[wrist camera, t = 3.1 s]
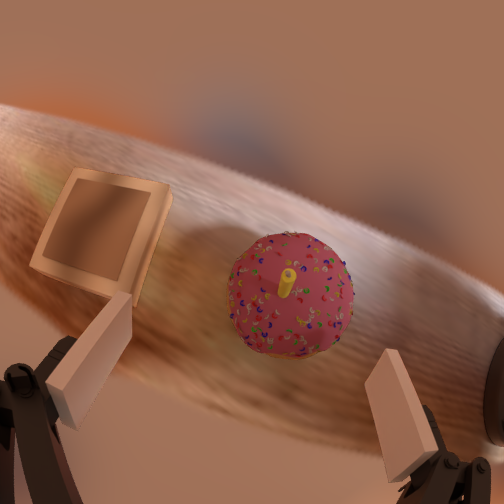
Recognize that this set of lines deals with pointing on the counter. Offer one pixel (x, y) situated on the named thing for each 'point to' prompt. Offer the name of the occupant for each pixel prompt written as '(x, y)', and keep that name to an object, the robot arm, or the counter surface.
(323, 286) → the cupcake
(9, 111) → the counter surface
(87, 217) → the square tray
